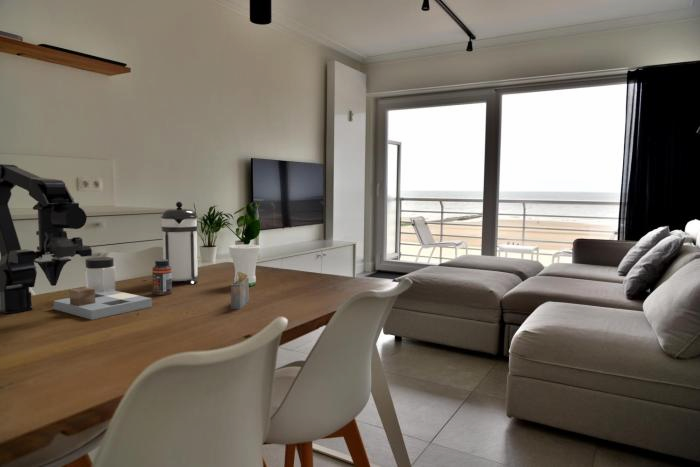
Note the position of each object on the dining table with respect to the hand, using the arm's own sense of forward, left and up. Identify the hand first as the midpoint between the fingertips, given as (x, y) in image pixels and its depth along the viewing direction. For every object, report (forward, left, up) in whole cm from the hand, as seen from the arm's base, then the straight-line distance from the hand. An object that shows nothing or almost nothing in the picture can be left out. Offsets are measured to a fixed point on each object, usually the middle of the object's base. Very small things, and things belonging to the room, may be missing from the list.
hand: (53, 285), depth 132 cm
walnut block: (+8, 0, -6) cm, 10 cm away
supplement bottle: (+36, +3, -9) cm, 37 cm away
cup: (+63, -8, -9) cm, 64 cm away
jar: (+23, +17, -9) cm, 30 cm away
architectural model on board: (+40, -29, -10) cm, 50 cm away
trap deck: (+14, 0, -9) cm, 16 cm away
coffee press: (+53, +16, -9) cm, 56 cm away
